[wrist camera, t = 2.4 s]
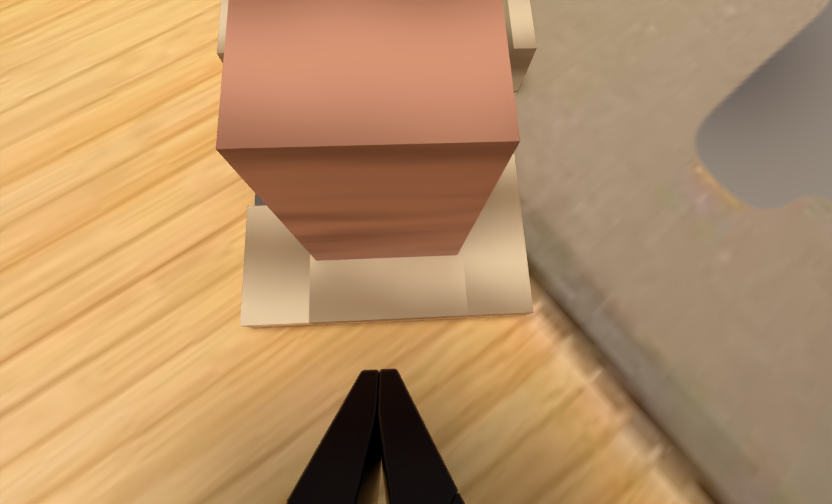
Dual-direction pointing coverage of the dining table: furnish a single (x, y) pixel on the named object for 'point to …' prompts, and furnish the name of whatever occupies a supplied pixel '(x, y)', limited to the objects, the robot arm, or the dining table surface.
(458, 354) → the dining table surface
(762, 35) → the dining table surface
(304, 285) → the shallow open box
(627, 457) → the dining table surface
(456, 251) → the block
